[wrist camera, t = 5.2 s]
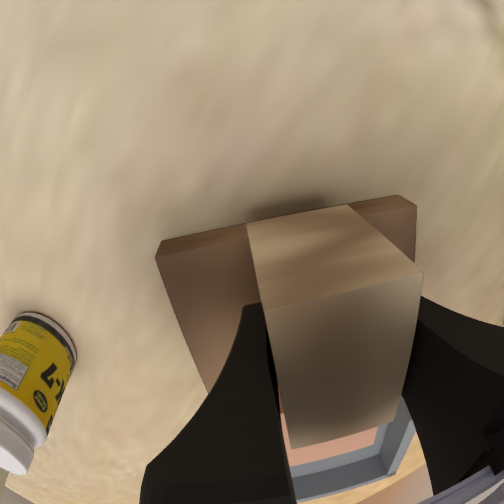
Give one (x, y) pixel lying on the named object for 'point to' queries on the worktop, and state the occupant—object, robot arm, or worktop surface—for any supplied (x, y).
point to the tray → (357, 461)
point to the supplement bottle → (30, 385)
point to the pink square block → (325, 445)
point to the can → (2, 479)
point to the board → (243, 278)
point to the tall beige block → (335, 320)
